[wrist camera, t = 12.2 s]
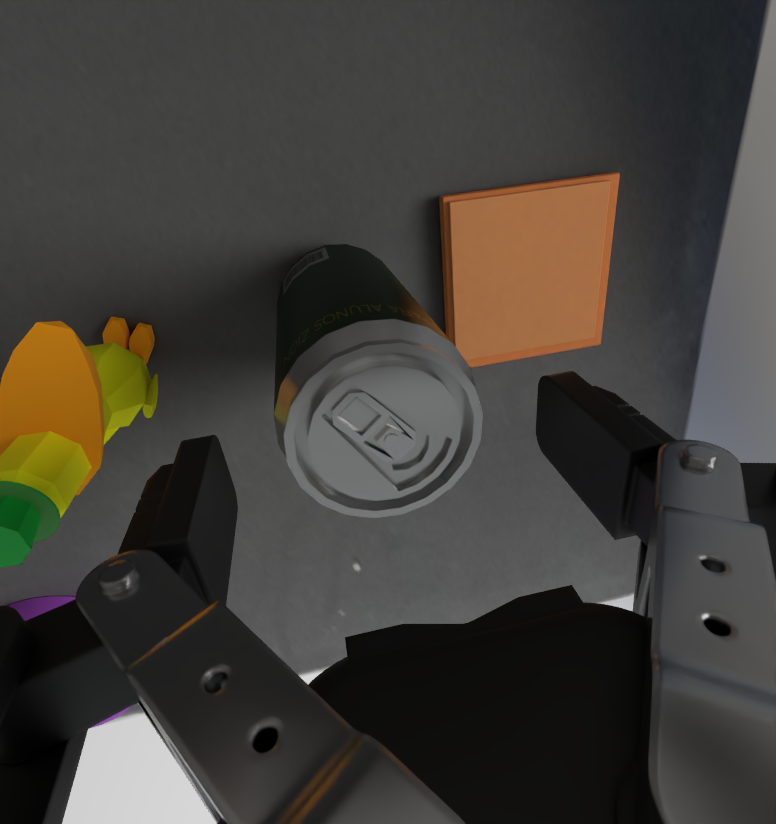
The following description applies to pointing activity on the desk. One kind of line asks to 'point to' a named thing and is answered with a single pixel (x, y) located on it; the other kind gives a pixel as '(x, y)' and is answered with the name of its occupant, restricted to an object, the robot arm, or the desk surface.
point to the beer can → (368, 388)
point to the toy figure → (63, 421)
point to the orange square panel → (527, 267)
